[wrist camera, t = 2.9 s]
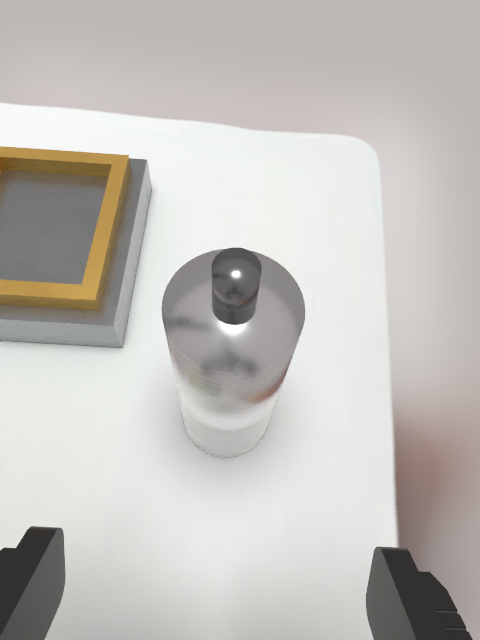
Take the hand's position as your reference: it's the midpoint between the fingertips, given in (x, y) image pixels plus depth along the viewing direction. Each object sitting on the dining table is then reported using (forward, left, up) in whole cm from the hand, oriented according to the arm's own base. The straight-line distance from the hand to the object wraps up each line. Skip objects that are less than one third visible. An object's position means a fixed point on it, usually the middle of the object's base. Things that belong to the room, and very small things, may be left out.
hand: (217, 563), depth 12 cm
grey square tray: (-13, +19, -14) cm, 27 cm away
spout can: (0, +8, -14) cm, 16 cm away
